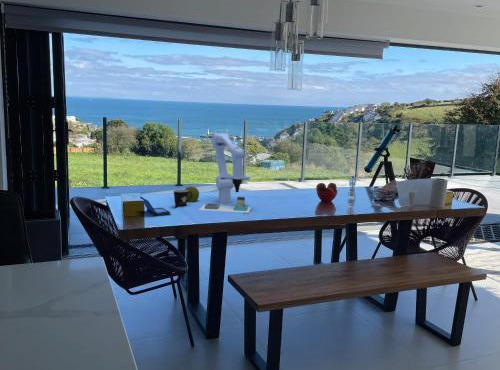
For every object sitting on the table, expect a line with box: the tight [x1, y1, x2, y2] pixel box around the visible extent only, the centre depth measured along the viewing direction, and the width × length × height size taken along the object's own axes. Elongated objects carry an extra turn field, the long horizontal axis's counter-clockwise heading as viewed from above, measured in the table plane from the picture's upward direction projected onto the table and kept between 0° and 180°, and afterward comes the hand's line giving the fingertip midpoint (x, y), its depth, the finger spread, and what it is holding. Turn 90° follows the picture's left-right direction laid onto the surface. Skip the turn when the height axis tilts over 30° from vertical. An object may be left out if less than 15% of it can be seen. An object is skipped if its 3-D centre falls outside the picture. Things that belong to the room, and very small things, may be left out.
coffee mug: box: [173, 188, 192, 209], centre depth 276 cm, size 12×9×10 cm
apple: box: [184, 186, 200, 203], centre depth 290 cm, size 10×10×11 cm
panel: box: [198, 202, 253, 215], centre depth 272 cm, size 14×29×3 cm, turn 83°
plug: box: [236, 196, 246, 208], centre depth 270 cm, size 4×4×7 cm
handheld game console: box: [139, 196, 172, 217], centre depth 260 cm, size 16×13×9 cm
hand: (237, 192), depth 274 cm, fingers closed
